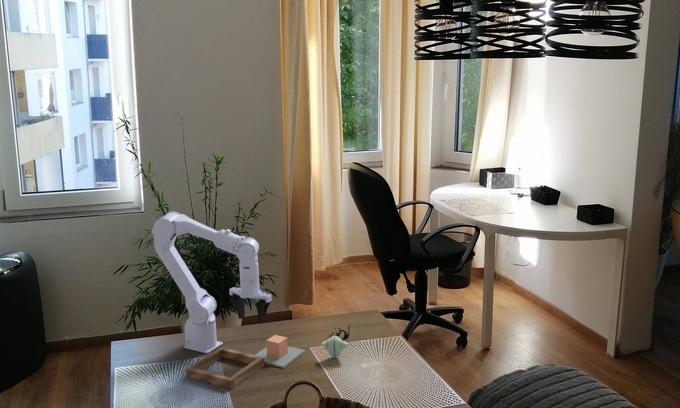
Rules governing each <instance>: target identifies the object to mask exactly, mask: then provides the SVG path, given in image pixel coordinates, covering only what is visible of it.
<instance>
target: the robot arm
mask: <svg viewBox="0 0 680 408" xmlns="http://www.w3.org/2000/svg"><path fill="white" fill-rule="evenodd" d="M151 233H152V235H153V245H154V246H153V247H154V250H155V252H156V254H157V255H158V257H159V258H160V260H161V262H162V263H163V265H164V266H165V268H166V270H167V271H168V272H169V274H170V275H171V278H172V279H173V280H174V282H175V284H176V286H177V287H178V289H179V290H180V292H181V293H182V295H183V296H184V298H185V299H184V300H185V308H186V310H187V311H188V317H189V318H188V319H187V320H186V322H185V324H184V338H185V339H184V340H185V341H184V343H185V345H184V346H183V348H184V349H187V350H191V351H195V352H199V353H202V354H210V353H212V352H213V351H215V350H217V349H218V348H220V347H221V346H222V345H223V344H224V343H223V341H218V340H217V325H216V323H217V322H216V316H215V314H214V313H215V311H216V309H217V301H216V299H215V298H214V297H213V296H212V295H210V294H209V293H208V292H207V290H206V289H205V288H202V287H201V286H200V285H199V283H198V282H197V280H196V279H195V277H194V275H193V274H192V272H191V271H190V270H189V267H188V266H187V264H186V263H185V261H184V260H183V258H182V257H181V255H180V253H179V252H178V250H177V249H176V247H175V241H176V238H177V236H180V235H185V234H190V235H193V236H195V237H198V238H199V237H200V238H202V239H205V240H208V241H211V242H212V243H213V244H214V247H215V248H218V249H221V250H223V251H226V252H227V253H230V254H232V255H236V257H237V258H238V260H239V281H240V284H239V285H240V287H234V286H233V287H231V288H229V290H228V291H229V296H231V297H230V298H229V299H230V302H231V304H232V305H233V307H234V308H235V311H236V313H237V317H238V319H240V320H241V319H243V318H244V317H245V313H246V311H245V310H246V309H245V306H246V299H247V298H248V299H253V300H258V301H256V302H254V305H255V308H256V311H257V312H256V313H257V320H258V323H259V324H263V323H264V322H265V321H266V314H267V311H268V310H269V309H268V308H269V307H270V305H271V303H272V301H273V298H272V297H273V296H272V294H270V293H267V292H265V291H263V290H261V289H260V273H259V272H260V271H259V270H260V268H259V259H258V253H259V250H260V244H259V242H258V241H257V240H256V238H253V237H249V236H248V237H246V236H245V235H242V236H241V235H238V234H237V233H233V232H232V230H230V229H229V228H227V229H226V230H225V229H220V230H216V229H214V228H212V227H209V226H207V225H205V224H203V223H201V222H198V221H197V220H194V219H193V218H191V217H189V216H188V215H186V214H183V213H179V212H177V211H168V212H167V213H166V214H165V215H164V216H162V217H161V218H159V219H157V220H156V221H155V222H154V224H153V226H152V230H151Z"/></svg>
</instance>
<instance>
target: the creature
mask: <svg viewBox="0 0 680 408" xmlns="http://www.w3.org/2000/svg"><path fill="white" fill-rule="evenodd" d="M350 326H351V324H348V327H347V329H348V330H347V331H348V332H347V331H346V330H345V329H342V328H340V327H338V331H334V332H332V333H331V334H328V335H327V337H326V339H327V340H328V339H329V338H331V337H332V336H338V337H339V338H340V335H341V334H342V332H343V333H344V335H343V337H341V340H343V341H346V340H347V339H348V338H349V337H350ZM333 328H334V330H337V328H336V327H335V326H333ZM328 337H329V338H328Z"/></svg>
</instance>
